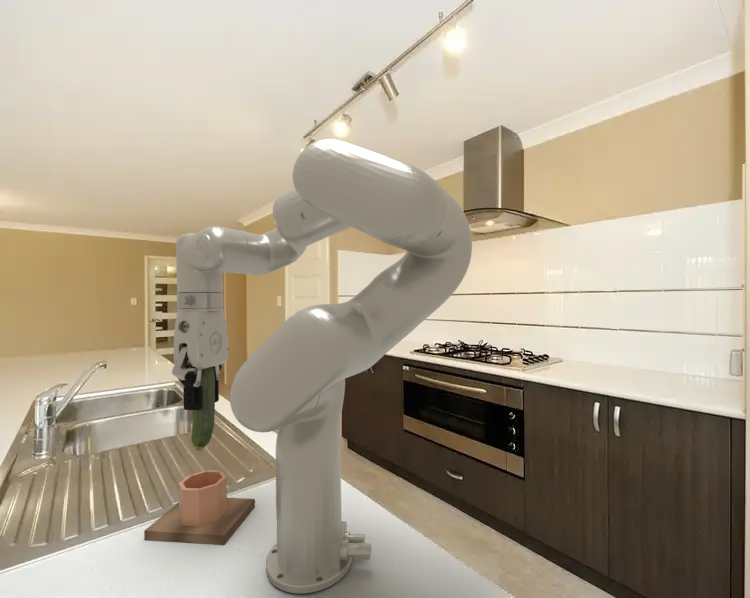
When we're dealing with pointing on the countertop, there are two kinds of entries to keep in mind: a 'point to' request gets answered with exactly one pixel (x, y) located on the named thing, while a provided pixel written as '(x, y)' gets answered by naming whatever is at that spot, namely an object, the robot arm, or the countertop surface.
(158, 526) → the stand
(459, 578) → the countertop surface
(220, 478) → the cup
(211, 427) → the vegetable
